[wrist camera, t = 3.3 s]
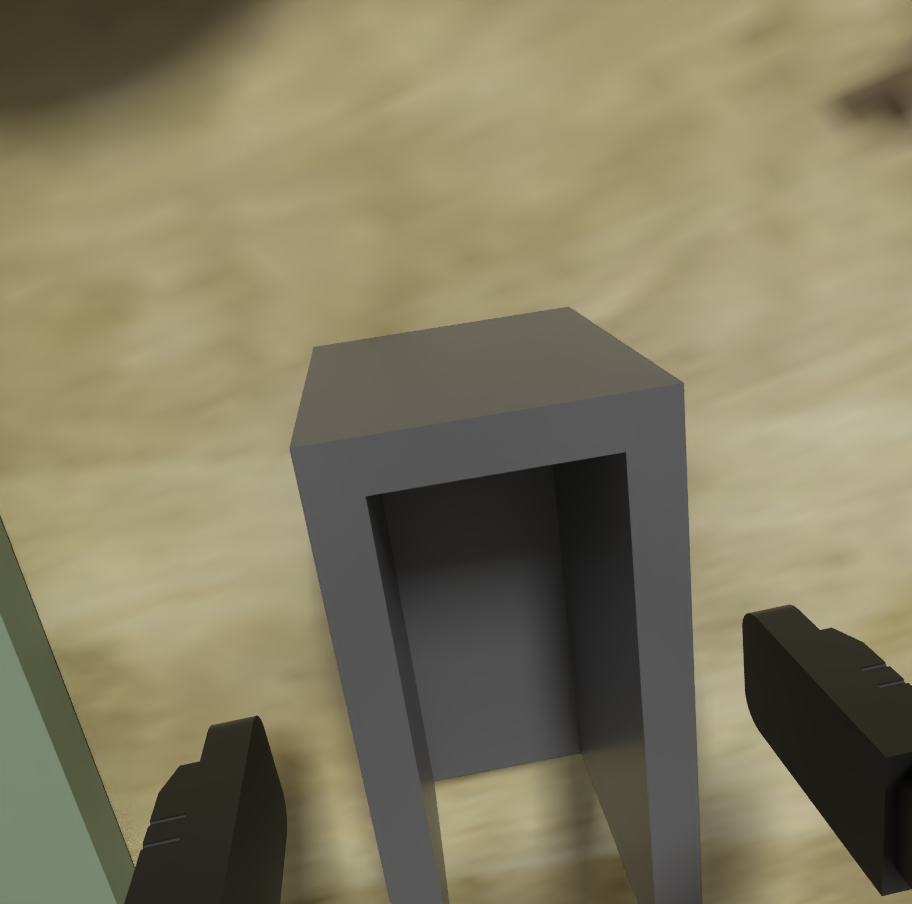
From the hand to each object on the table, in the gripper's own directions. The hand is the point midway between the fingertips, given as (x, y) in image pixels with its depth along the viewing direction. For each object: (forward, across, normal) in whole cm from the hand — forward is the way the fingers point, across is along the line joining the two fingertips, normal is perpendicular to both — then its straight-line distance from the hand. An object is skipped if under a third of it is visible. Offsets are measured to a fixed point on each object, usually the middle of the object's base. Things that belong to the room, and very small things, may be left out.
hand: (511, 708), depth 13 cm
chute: (+5, 0, 0) cm, 5 cm away
